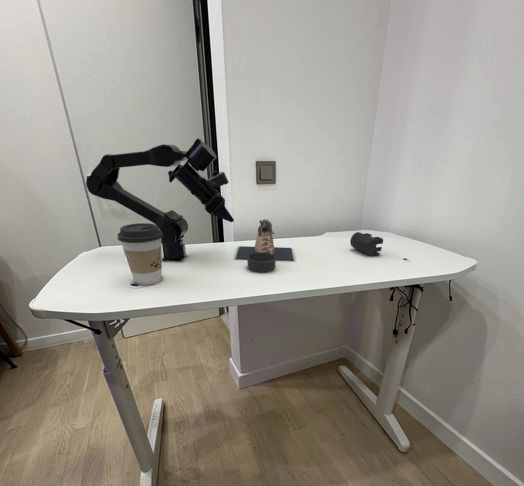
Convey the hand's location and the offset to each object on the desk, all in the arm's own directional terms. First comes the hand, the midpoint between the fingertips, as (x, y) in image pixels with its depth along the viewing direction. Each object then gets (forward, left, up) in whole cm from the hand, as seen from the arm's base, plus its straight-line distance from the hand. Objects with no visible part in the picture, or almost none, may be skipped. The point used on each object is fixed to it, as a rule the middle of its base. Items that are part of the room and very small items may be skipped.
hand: (230, 218), depth 96 cm
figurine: (+11, +5, -13) cm, 18 cm away
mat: (+12, +5, -13) cm, 19 cm away
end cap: (+50, +10, -14) cm, 52 cm away
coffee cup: (-21, -22, -14) cm, 33 cm away
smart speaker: (+11, -10, -14) cm, 20 cm away
